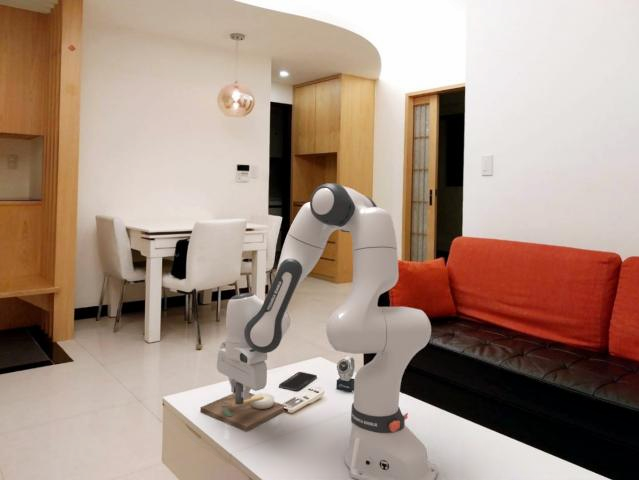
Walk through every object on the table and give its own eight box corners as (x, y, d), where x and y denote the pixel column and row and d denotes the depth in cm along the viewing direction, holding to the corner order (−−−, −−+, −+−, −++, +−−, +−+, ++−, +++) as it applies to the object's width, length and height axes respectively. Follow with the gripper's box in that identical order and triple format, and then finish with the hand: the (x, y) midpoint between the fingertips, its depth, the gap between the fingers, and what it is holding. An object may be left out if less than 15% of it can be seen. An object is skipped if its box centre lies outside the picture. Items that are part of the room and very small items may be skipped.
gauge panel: (286, 410, 149) (286, 405, 149) (246, 431, 135) (246, 425, 135) (241, 394, 160) (241, 389, 160) (200, 412, 146) (200, 406, 146)
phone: (277, 385, 166) (299, 371, 180) (277, 388, 166) (299, 374, 180) (298, 389, 163) (318, 375, 176) (298, 393, 163) (318, 378, 176)
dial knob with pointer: (266, 397, 154) (266, 371, 153) (278, 405, 148) (279, 378, 147) (227, 407, 145) (227, 380, 145) (239, 416, 140) (239, 388, 139)
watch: (333, 391, 165) (334, 359, 164) (344, 383, 172) (345, 352, 171) (348, 394, 162) (349, 362, 161) (358, 386, 169) (360, 355, 168)
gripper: (212, 342, 147) (211, 386, 148) (253, 360, 132) (251, 410, 133) (229, 338, 151) (228, 381, 152) (271, 355, 136) (269, 403, 138)
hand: (239, 395), depth 143 cm, fingers open, 4 cm apart
